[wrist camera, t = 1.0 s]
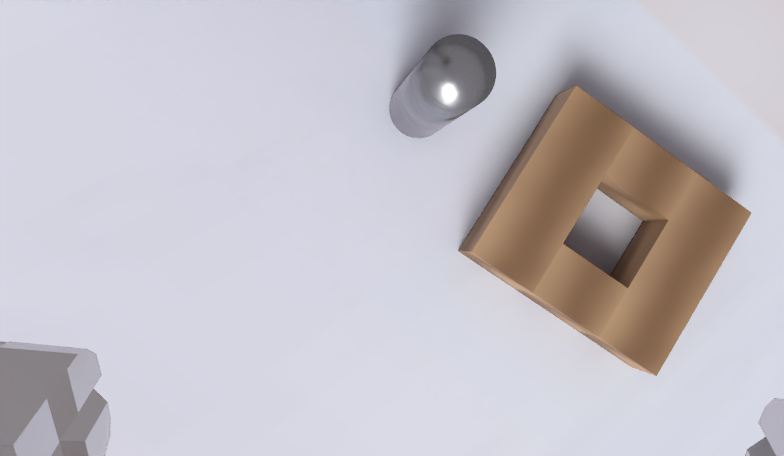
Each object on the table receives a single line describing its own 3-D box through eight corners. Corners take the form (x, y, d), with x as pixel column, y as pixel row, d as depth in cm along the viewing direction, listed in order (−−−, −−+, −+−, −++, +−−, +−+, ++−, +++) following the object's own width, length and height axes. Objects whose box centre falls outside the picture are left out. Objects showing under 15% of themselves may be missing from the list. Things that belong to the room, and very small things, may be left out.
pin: (378, 116, 43) (409, 80, 33) (409, 69, 43) (449, 19, 33) (426, 149, 43) (470, 123, 33) (456, 102, 44) (509, 63, 34)
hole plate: (458, 250, 43) (471, 251, 40) (556, 95, 45) (576, 85, 42) (631, 366, 45) (656, 375, 42) (721, 214, 47) (751, 212, 44)
